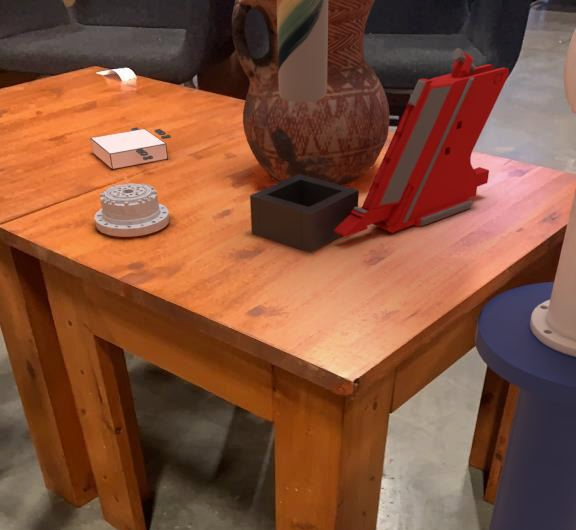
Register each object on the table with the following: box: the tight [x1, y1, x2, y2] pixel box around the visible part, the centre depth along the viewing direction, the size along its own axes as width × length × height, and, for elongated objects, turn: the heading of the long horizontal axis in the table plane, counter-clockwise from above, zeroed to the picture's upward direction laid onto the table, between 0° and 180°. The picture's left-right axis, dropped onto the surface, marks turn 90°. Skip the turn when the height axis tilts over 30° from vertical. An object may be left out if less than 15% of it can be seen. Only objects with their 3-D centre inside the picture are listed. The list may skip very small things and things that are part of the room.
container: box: [90, 127, 172, 171], centre depth 125 cm, size 20×12×3 cm, turn 29°
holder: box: [249, 174, 360, 253], centre depth 100 cm, size 10×10×5 cm
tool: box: [334, 47, 510, 238], centre depth 100 cm, size 24×5×25 cm, turn 133°
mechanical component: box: [93, 182, 170, 238], centre depth 103 cm, size 10×4×10 cm
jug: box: [231, 0, 390, 186], centre depth 109 cm, size 22×21×25 cm
